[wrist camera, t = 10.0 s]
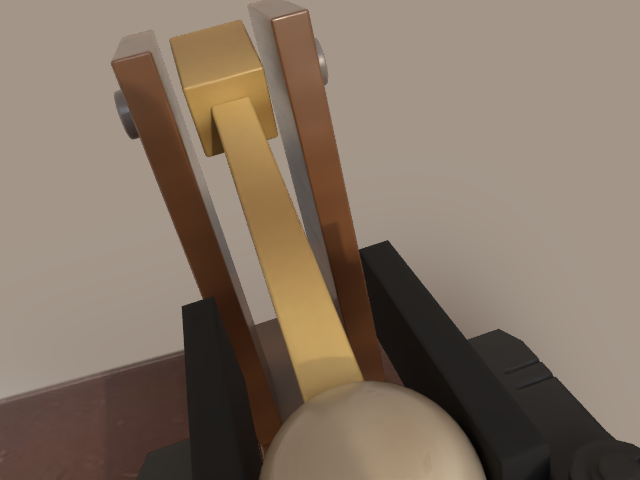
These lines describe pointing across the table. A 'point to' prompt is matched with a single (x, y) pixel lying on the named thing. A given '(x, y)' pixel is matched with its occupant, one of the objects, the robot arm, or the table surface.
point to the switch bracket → (310, 186)
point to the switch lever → (308, 297)
